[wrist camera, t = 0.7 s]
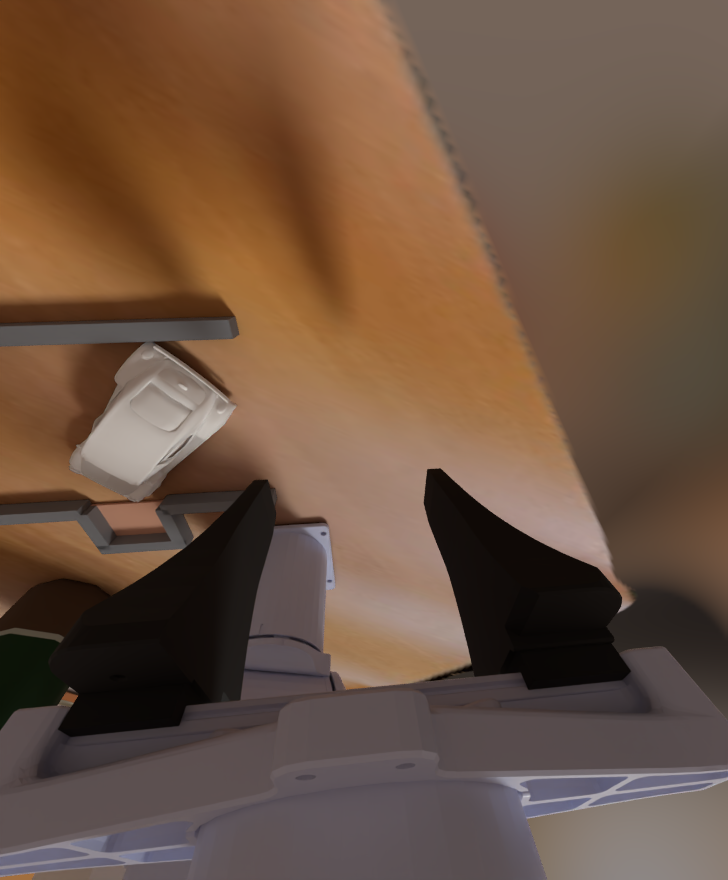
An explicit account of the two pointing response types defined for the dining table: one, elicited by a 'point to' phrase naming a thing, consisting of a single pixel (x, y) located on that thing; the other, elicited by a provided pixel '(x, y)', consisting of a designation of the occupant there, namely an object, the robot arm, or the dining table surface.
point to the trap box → (127, 520)
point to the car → (150, 423)
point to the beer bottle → (38, 642)
